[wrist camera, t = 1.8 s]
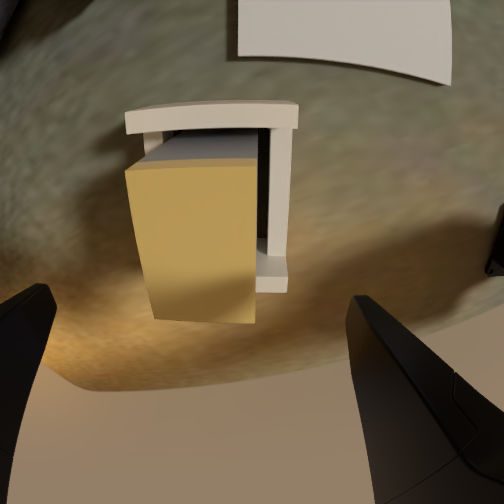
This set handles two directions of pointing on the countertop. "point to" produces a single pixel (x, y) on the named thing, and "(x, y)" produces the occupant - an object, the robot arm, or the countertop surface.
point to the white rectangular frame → (280, 145)
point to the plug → (198, 225)
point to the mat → (352, 33)
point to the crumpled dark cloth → (6, 13)
